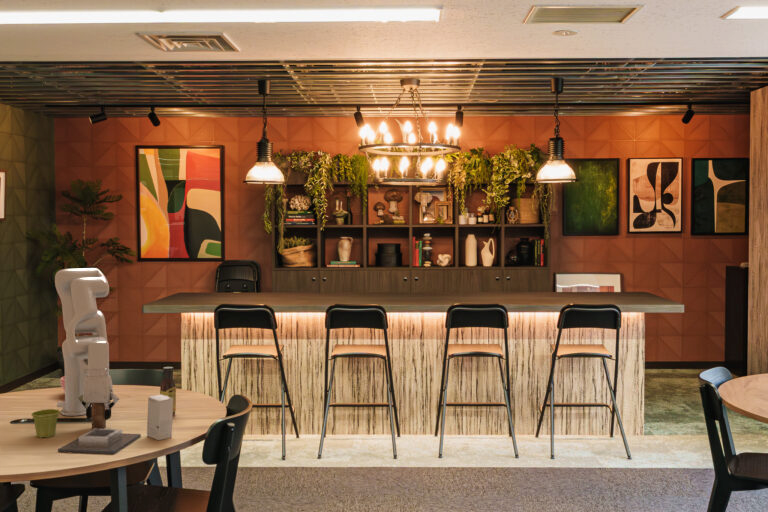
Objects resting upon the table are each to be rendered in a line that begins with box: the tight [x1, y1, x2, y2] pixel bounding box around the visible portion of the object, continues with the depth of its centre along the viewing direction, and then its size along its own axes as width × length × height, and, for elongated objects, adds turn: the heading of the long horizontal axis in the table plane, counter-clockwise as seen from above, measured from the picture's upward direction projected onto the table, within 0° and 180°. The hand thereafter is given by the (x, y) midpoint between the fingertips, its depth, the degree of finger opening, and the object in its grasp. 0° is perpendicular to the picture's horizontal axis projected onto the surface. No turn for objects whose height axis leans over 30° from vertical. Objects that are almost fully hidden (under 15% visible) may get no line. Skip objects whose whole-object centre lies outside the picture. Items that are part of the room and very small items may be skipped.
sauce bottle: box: [159, 366, 177, 417], centre depth 279 cm, size 6×6×20 cm
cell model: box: [60, 375, 65, 392], centre depth 314 cm, size 17×20×11 cm
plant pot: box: [31, 408, 61, 439], centre depth 251 cm, size 9×9×9 cm
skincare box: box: [146, 394, 174, 441], centre depth 251 cm, size 8×6×15 cm
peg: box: [91, 403, 107, 430], centre depth 262 cm, size 5×5×10 cm
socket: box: [57, 428, 142, 455], centre depth 242 cm, size 20×20×4 cm
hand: (98, 418), depth 262 cm, fingers open, 6 cm apart
